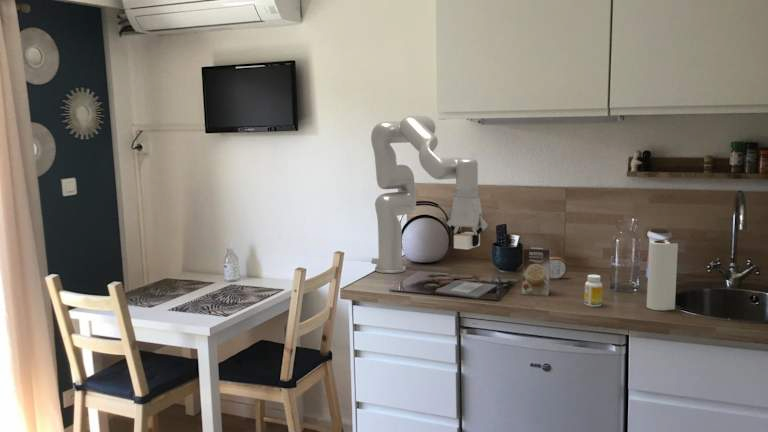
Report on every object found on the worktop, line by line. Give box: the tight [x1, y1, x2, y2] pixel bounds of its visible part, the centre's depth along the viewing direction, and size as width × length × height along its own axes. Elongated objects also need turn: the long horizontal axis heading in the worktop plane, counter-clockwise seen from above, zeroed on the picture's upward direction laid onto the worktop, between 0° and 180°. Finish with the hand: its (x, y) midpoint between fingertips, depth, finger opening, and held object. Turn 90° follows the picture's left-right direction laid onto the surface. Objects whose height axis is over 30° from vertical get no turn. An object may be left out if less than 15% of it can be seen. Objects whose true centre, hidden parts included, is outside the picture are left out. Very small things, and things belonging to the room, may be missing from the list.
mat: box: [434, 279, 498, 299], centre depth 231 cm, size 16×18×1 cm
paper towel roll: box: [646, 240, 679, 311], centre depth 203 cm, size 7×6×21 cm
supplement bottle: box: [583, 274, 603, 308], centre depth 209 cm, size 5×5×10 cm
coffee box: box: [521, 245, 551, 297], centre depth 224 cm, size 9×6×16 cm
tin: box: [549, 256, 568, 280], centre depth 245 cm, size 15×3×8 cm, turn 84°
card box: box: [453, 231, 481, 250], centre depth 229 cm, size 9×6×5 cm, turn 144°
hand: (466, 244), depth 229 cm, fingers closed on card box, 5 cm apart
